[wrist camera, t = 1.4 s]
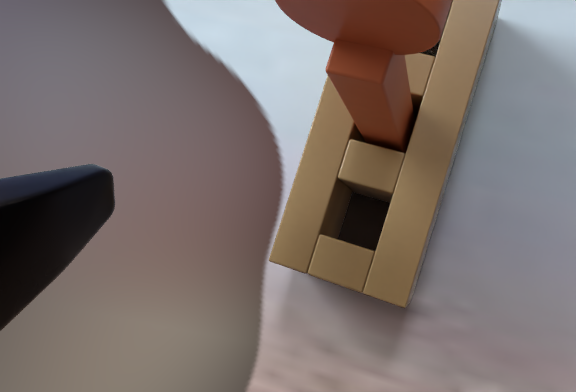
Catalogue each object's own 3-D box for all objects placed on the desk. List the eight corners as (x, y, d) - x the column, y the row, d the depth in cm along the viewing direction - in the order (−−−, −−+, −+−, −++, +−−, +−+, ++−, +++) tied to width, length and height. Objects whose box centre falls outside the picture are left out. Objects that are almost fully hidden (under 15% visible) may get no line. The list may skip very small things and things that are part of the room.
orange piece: (433, 170, 23) (427, 34, 10) (346, 147, 24) (233, -3, 11) (446, 129, 23) (457, -62, 10) (358, 108, 24) (262, -88, 11)
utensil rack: (294, 261, 24) (267, 260, 20) (378, -5, 25) (368, -54, 21) (411, 301, 23) (405, 308, 19) (498, 16, 23) (509, -34, 19)
